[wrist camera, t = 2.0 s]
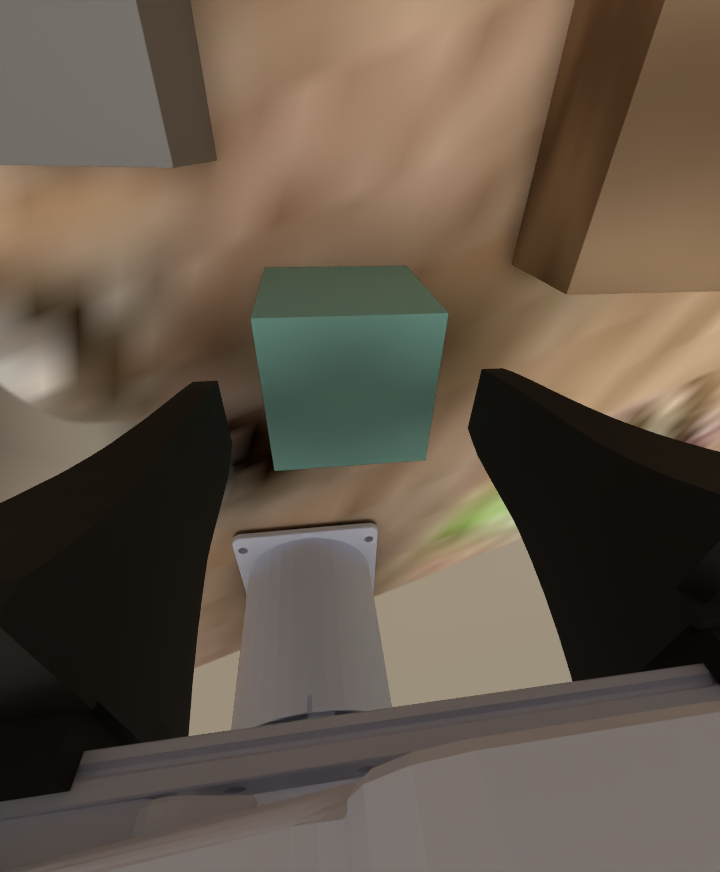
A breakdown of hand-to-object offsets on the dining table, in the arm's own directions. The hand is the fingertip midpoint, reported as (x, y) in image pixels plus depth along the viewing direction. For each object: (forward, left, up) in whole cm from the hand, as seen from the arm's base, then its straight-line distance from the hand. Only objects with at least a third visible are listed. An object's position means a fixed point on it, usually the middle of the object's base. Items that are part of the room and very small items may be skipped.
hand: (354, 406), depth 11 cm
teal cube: (0, 0, -6) cm, 6 cm away
